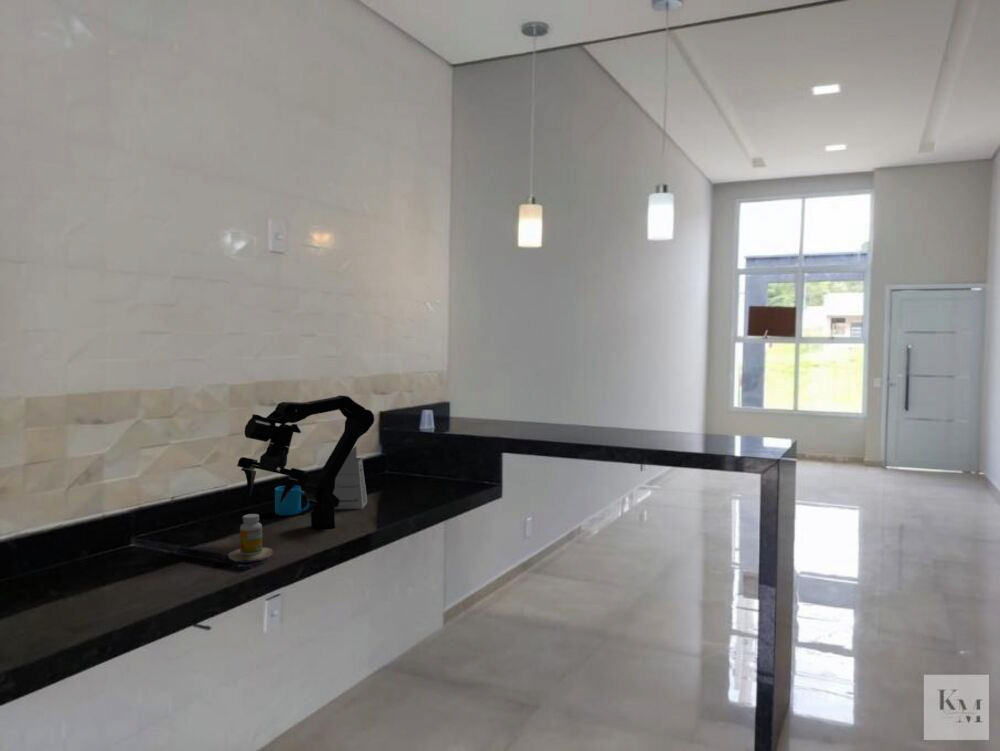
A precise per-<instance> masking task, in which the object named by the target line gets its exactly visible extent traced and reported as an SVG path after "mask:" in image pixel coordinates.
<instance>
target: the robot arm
mask: <svg viewBox="0 0 1000 751" xmlns="http://www.w3.org/2000/svg"><path fill="white" fill-rule="evenodd" d="M334 411H339V412H340V413H341V414H342V415H343V416H344V417H345V418H346V419H345V421H344V431H343V433H342V434H341V436H340V437H339V440H338V442H337V443H336V445H335V447H334V448H333V450H332V451H331V453H330V455H329V457H328V459H327V460H326V462H325V464H324V466H323V467H322V469H321V470H320V471H319V472H318V473H311V474H310V475H309V478H308V479H307V477H308V472H307V470H303V469H299V468H294V467H291V468H290V469H289V468H285V467H286V466H287V462H288V455H289V453H290V448H291V447H290V446H291V443H292V439H293V436H294V433H296V434H297V433H298V434H301V433H302V431H301V430H300V428H299V426H298V424H297V423H298V422H300V421H304V420H306V419H307V418H308V417H310V416H314V415H318V414H323V413H324V414H325V413H329V412H334ZM288 423H290V425H289V424H288ZM374 423H375V415H374V413H373V411H372V410H370V409H366V408H365V407H364V406H362V405H360V404H359V403H358V402H356V401H355V400H354V399H352V398H351V397H350V396H348V395H337V396H333V397H328V398H323V399H317V400H312V401H306V402H305V401H304V402H300V401H298V402H297V401H296V402H295V401H282V402H279V403H278V404H277V405H276V407H275V409H274V410H273V411H272V412H271V413H270V414H268V415H266V417H265V416H262V415H260V414H252V415H251V418H250V419H249V420H248V422H247V423H246V424H245V427H244V437H246V438H247V439H252V440H256V441H259V442H265V443H266V442H268V441H269V444H268V446H267V448H266V451H265V452H264V453H262V454H261V456H260V457H259V458H260V459H259V460H258V459H255V458H254V459H253V458H250V457H244V456H241V457H240V458H239V459H238V462H237V465H236V467H240V468H241V471H242V472H244V474H245V478H246V485H247V486H246V488H247V496H249V497H250V496H251V495H252V491H253V487H254V485H255V479H256V474H257V470H255V469H258V470H262V471H267V472H271V473H275V474H280V475H284V476H288V477H289V478H286V482H285V485H284V486H285V488H284V491H283V494H282V496H281V500H280V503H282V502H283V500H284V499H285V498H286V496H287V495H288V493H289V492H290V490H291V489H292V488H293V487H294V485H295V486H296V485H297V483H298V484H299V483H301V481H304V482H305V481H307V482H305V483H304V490H303V491H304V494H305V495H304V497H305V498H306V500H307V499H308V501H309V503H310V505H311V506H312V509H311V512H310V525H311V526H312V529H313V530H314V529H319V530H320V529H334V528H336V521H335V520H336V519H335V518H336V517H335V511H336V509H335V507H338V505H339V501H340V500H339V499H338V498H337V497H336V496H335V495H334V494H333V491H334V489H335V479H336V476H337V475H338V473H339V471H340V469H341V468H342V466H343V464H344V462H345V461H346V459H347V457H348V455H349V454H350V452H351V450H352V449H353V447H354V446H356V443H357V441H358V440H359V439H360V438H361V437H362V436H363V435H365V434H366V433H367V432H368V431H369V430H370V429H371V427H372V426H373V424H374ZM276 424H279V425H276ZM308 501H307V502H308Z"/></svg>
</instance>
